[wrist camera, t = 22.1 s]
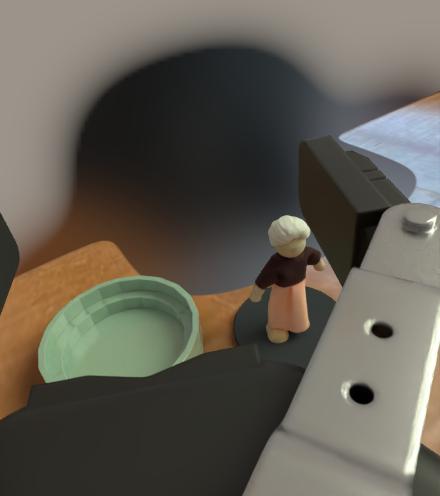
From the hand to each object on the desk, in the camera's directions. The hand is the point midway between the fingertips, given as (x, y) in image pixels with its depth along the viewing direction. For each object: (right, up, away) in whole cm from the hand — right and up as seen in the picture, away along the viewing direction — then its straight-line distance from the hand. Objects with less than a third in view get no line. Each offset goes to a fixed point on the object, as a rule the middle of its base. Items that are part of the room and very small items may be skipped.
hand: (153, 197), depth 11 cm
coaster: (+9, -9, +30) cm, 33 cm away
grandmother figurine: (+9, -9, +30) cm, 32 cm away
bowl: (-7, -12, +30) cm, 33 cm away
